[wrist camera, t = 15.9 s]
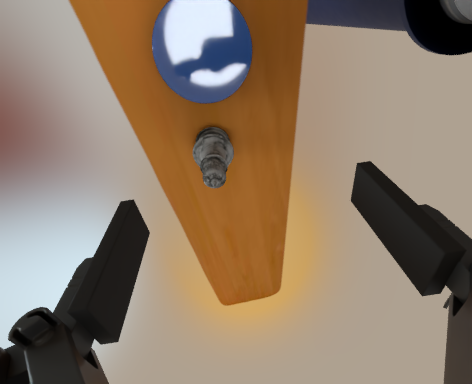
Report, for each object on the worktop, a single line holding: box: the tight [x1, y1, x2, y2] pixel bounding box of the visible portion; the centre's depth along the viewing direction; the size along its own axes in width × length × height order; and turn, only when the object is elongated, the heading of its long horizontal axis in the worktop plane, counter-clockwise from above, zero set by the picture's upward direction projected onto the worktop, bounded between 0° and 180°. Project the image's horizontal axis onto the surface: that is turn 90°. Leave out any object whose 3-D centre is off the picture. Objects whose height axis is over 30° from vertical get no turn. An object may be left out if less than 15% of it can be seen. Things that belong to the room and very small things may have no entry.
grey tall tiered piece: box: [193, 127, 234, 188], centre depth 34 cm, size 6×6×12 cm
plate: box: [152, 0, 252, 103], centre depth 31 cm, size 12×12×2 cm
